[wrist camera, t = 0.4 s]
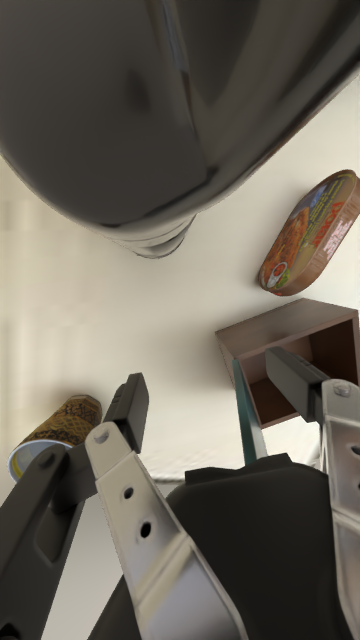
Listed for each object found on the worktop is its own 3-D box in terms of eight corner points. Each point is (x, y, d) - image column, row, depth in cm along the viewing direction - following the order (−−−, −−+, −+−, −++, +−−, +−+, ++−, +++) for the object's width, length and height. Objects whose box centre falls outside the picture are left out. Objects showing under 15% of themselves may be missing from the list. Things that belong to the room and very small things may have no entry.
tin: (305, 187, 25) (373, 148, 17) (322, 198, 25) (395, 166, 17) (249, 286, 28) (283, 293, 20) (265, 294, 29) (304, 305, 21)
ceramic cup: (43, 413, 32) (-9, 475, 22) (75, 376, 30) (33, 426, 21) (104, 446, 35) (80, 513, 26) (136, 414, 34) (124, 473, 24)
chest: (303, 297, 29) (358, 309, 21) (314, 360, 33) (365, 392, 25) (214, 332, 30) (233, 357, 22) (235, 390, 34) (257, 431, 25)
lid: (289, 631, 6) (265, 625, 6) (332, 720, 10) (315, 714, 10) (238, 358, 21) (231, 359, 21) (262, 433, 25) (256, 434, 25)
